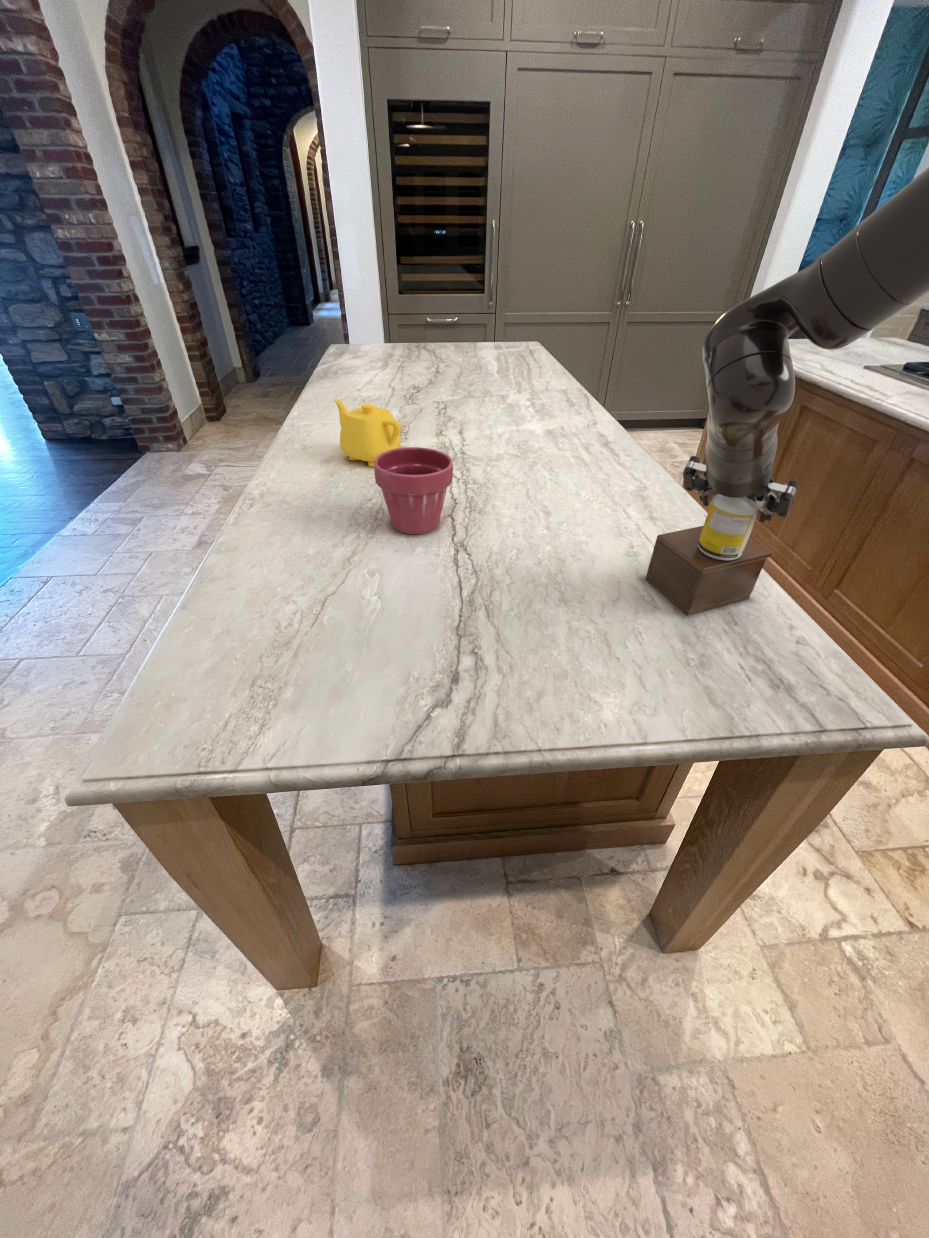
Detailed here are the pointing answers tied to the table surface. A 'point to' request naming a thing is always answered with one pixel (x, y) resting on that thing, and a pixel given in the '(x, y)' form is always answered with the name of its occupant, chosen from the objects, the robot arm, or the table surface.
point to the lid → (688, 550)
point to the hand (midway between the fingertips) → (735, 508)
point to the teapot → (367, 432)
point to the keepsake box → (700, 581)
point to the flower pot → (414, 486)
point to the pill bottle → (727, 528)
